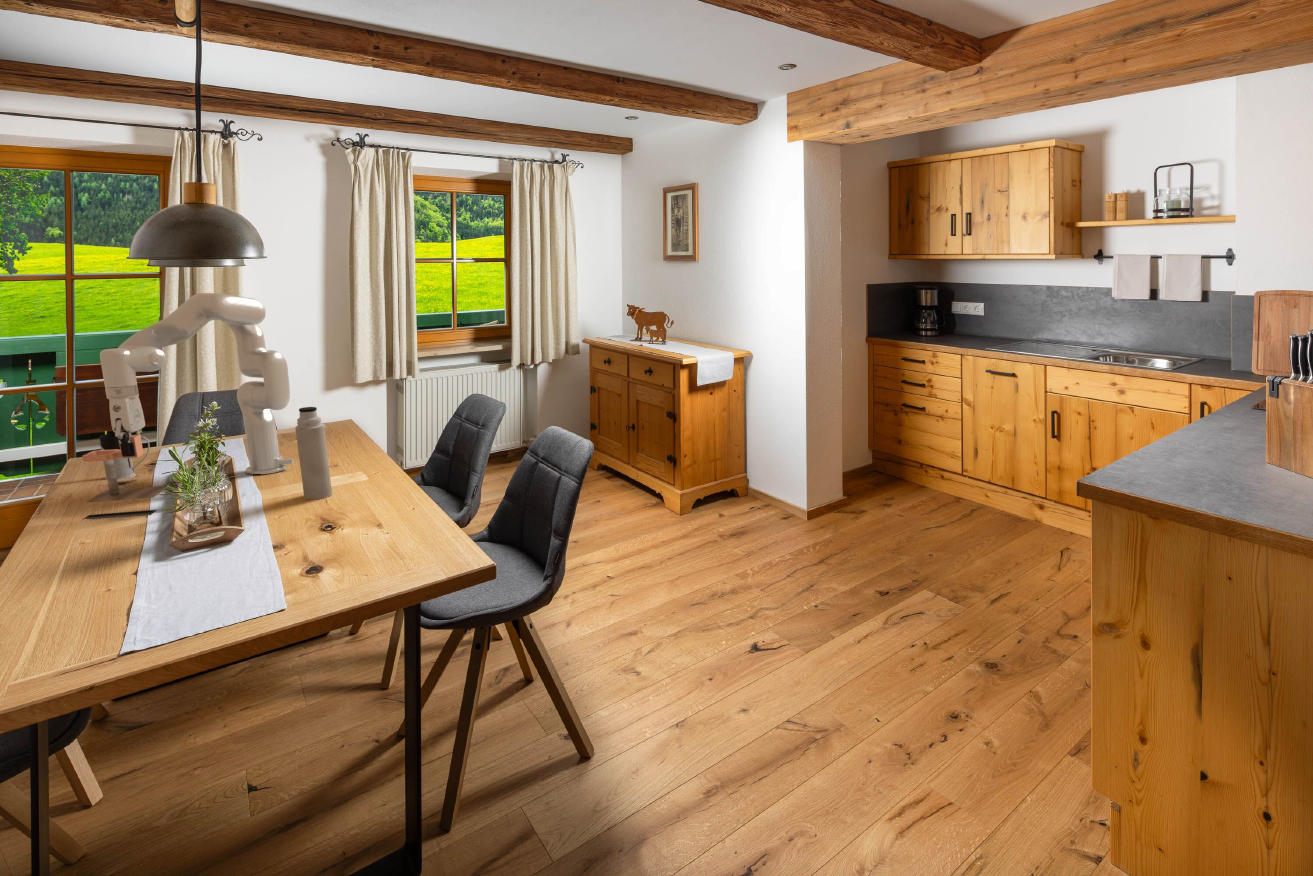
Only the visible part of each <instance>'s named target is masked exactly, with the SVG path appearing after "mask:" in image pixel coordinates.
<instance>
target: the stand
mask: <svg viewBox="0 0 1313 876" xmlns="http://www.w3.org/2000/svg"><path fill="white" fill-rule="evenodd" d="M104 466H105V468H104V471H106V473H105V478H106V477H107V481H106V482H107V486H108V489H106V490H104V491H102V492H100V493H99V494H97V495H96V496H94V497H92V498H91V499H89V500H88V501H86V503H96V502H110V501H112V502H113V501H123V500H124V501H127V500H139V499H141V500H142V499H153V498H155V497H156V496H158V495H159V494H160V493H162V492H163V491H165V490H166V489H164V486H165V485H159V486H144V487H131V488H130V487H129V488H128V487H127V488H119V485H118V484H119V483H118V479H117V477H116V472H115V467H114V461H113V460H107V461H104V463H103V467H104Z"/></svg>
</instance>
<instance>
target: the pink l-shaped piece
mask: <svg viewBox="0 0 1313 876" xmlns="http://www.w3.org/2000/svg"><path fill="white" fill-rule="evenodd" d="M140 435H141V434H140ZM140 435H131V438H132V442H133V443H134V449H135V456H130V457H123V456H122V452H121V446H120V450H118V449H113V450H101V449H99V450H92V451H90V452H88V453H85V454H83V455H81V456H82V461H83V462H103V461H107V460H113V459H115V458H131V459H136V458H137V459H138V458H139V457H142V456H143V455H144V448H143V442H142V438H141V436H140ZM126 436H127V435H126ZM119 445H120V443H119Z"/></svg>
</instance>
